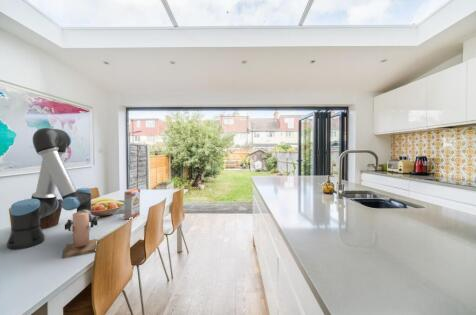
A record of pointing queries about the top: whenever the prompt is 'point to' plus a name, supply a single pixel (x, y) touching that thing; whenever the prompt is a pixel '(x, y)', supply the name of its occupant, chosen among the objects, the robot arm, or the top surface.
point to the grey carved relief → (120, 211)
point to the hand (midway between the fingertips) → (80, 229)
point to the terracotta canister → (80, 228)
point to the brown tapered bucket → (51, 217)
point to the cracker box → (131, 203)
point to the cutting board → (79, 249)
